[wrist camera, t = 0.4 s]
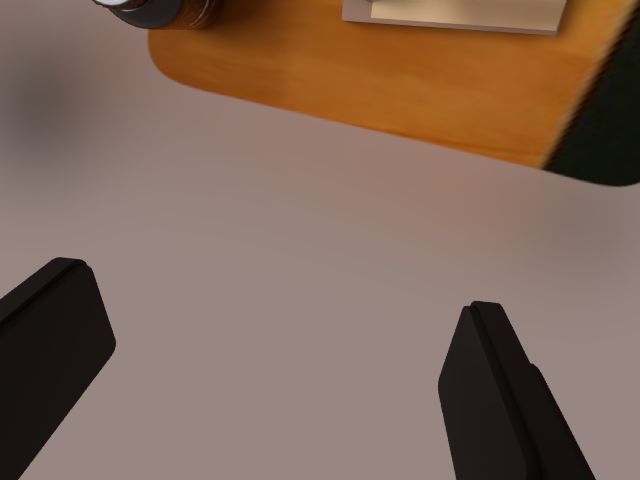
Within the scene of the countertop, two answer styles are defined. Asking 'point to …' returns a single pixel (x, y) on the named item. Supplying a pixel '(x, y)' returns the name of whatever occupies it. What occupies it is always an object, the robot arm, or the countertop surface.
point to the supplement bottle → (165, 13)
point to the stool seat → (462, 14)
